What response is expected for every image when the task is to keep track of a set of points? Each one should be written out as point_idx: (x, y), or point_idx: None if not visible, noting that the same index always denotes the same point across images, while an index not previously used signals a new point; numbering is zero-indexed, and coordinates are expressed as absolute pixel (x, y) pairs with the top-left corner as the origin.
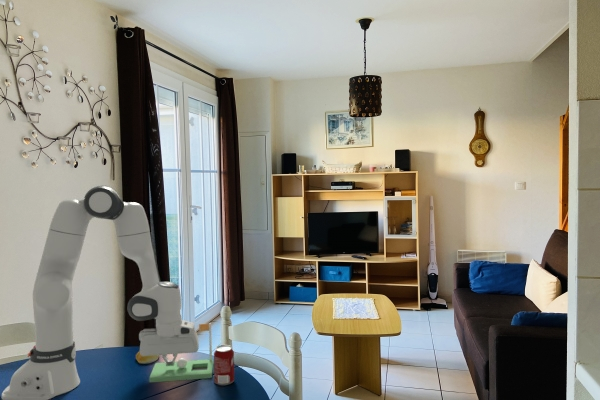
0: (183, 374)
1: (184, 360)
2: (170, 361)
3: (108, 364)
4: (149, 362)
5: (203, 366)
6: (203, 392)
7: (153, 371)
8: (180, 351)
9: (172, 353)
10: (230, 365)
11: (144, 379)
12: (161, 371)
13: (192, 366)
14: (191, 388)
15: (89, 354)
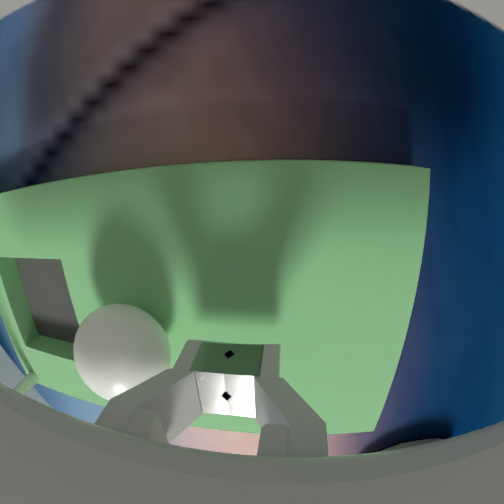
0: (93, 195)
1: (74, 352)
2: (215, 374)
3: None
4: (398, 446)
5: (54, 341)
6: (16, 24)
7: (399, 309)
8: (15, 415)
9: (128, 441)
10: None
11: (451, 237)
12: (324, 297)
13: None
14: (58, 47)
15: None
